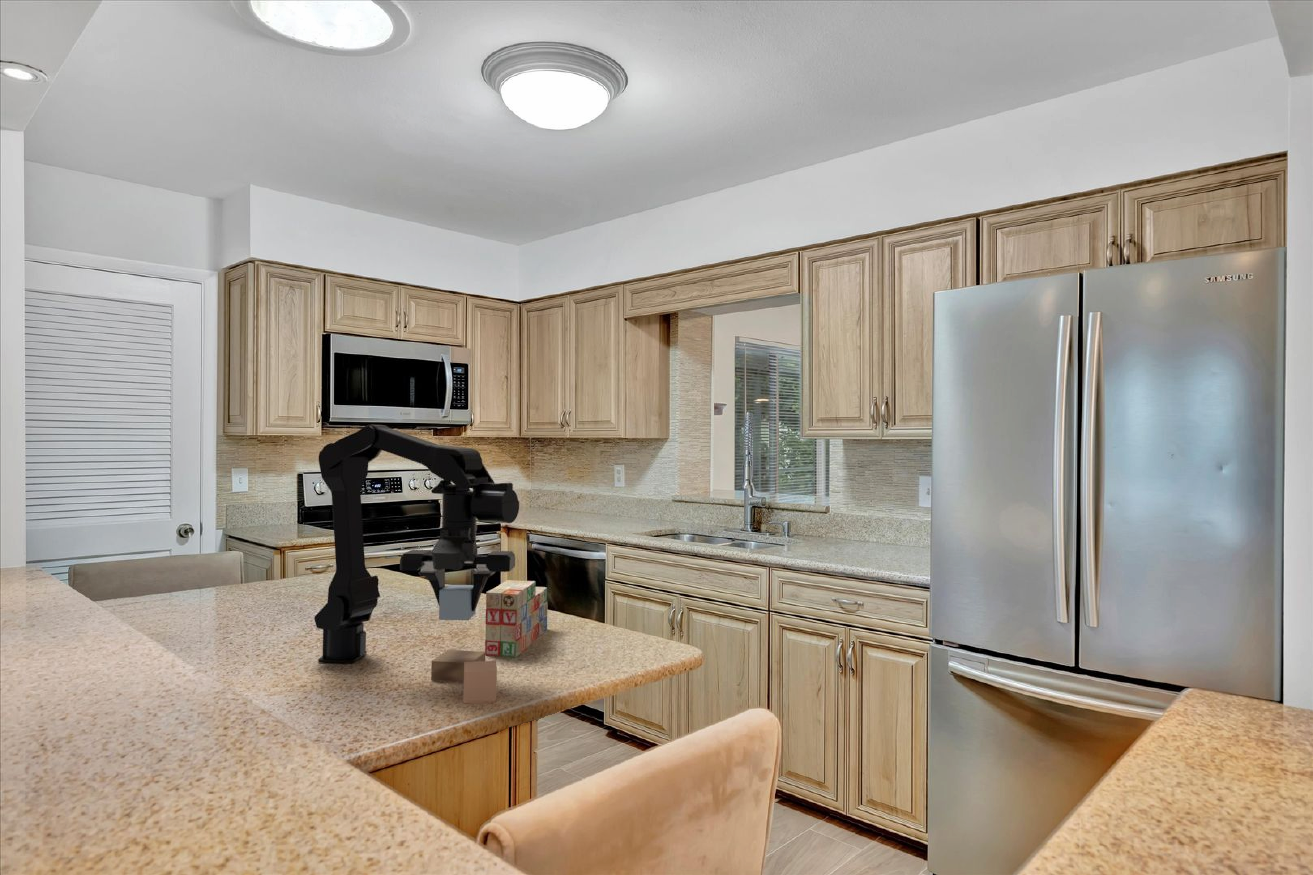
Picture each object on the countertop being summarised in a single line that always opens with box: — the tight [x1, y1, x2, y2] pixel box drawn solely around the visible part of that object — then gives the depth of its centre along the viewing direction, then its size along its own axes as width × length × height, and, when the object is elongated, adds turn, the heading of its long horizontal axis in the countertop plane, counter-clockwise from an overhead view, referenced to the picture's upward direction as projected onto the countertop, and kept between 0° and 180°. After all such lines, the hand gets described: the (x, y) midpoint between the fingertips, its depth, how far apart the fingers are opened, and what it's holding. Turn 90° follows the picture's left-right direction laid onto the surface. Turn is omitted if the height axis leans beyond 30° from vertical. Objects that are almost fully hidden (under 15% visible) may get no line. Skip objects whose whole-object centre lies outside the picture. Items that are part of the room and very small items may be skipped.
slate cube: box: [438, 584, 477, 621], centre depth 130 cm, size 5×5×5 cm
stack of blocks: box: [484, 579, 549, 658], centre depth 152 cm, size 21×6×12 cm, turn 172°
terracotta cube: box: [462, 660, 498, 704], centre depth 120 cm, size 5×5×5 cm
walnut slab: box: [430, 649, 486, 683], centre depth 131 cm, size 7×7×4 cm
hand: (457, 610), depth 130 cm, fingers closed on slate cube, 5 cm apart
